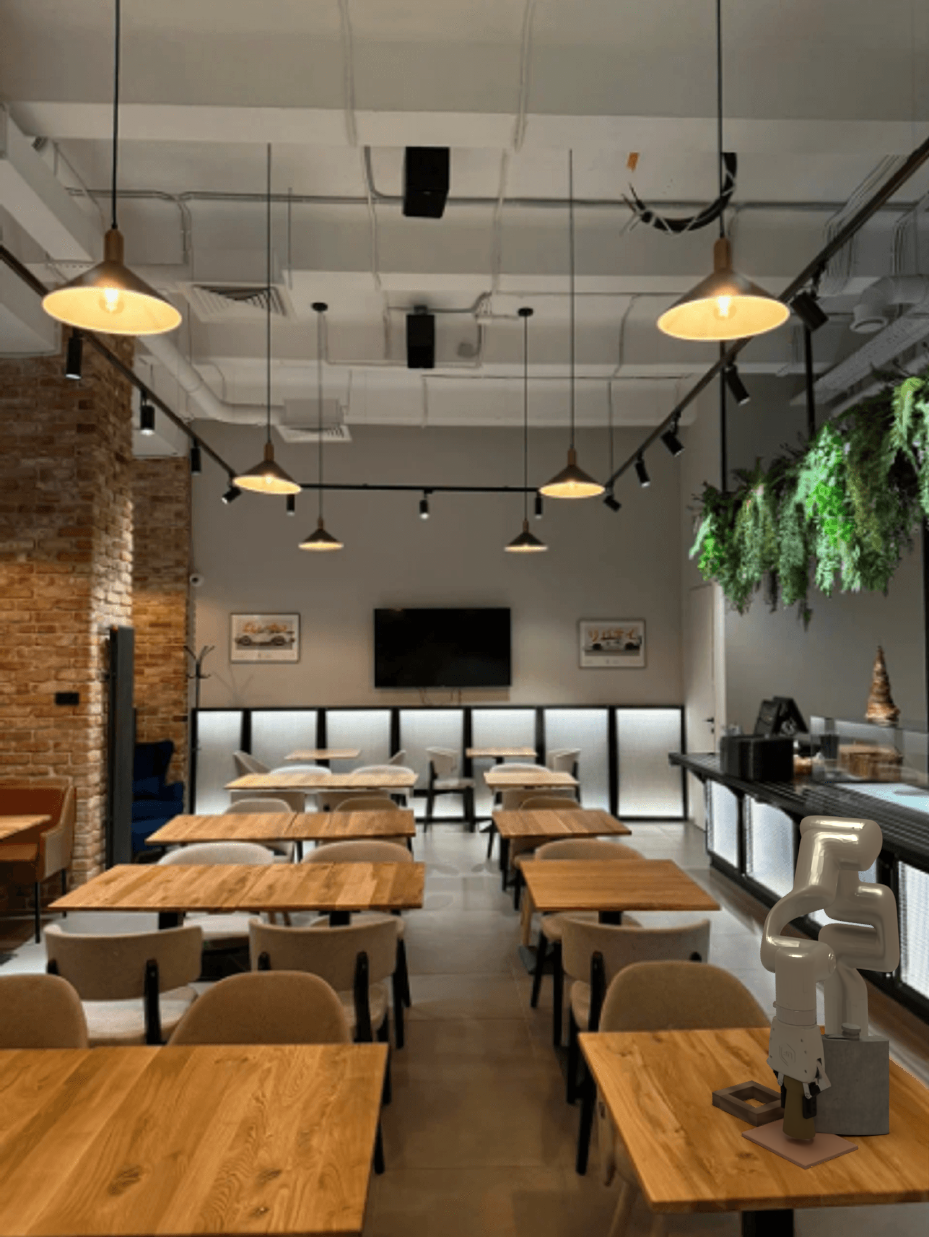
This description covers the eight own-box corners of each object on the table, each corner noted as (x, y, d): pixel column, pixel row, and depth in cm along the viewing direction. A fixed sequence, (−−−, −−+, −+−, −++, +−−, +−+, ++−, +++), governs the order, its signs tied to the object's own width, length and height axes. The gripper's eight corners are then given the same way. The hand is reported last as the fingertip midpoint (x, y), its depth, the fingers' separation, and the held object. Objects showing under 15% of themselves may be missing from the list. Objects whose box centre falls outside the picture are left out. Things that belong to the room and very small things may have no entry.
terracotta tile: (793, 1118, 190) (793, 1114, 191) (858, 1148, 178) (858, 1145, 178) (741, 1135, 183) (741, 1132, 183) (805, 1169, 170) (805, 1165, 170)
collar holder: (752, 1092, 203) (751, 1080, 203) (797, 1113, 193) (797, 1100, 193) (712, 1104, 197) (712, 1092, 197) (757, 1127, 186) (756, 1114, 187)
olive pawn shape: (812, 1126, 183) (811, 1067, 184) (818, 1140, 177) (816, 1080, 178) (780, 1123, 184) (779, 1065, 185) (784, 1137, 178) (783, 1077, 179)
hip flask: (883, 1126, 187) (884, 1022, 189) (894, 1135, 183) (894, 1029, 185) (806, 1125, 186) (807, 1020, 188) (815, 1134, 182) (816, 1027, 184)
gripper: (749, 1005, 187) (750, 1099, 186) (820, 1031, 173) (822, 1134, 172) (774, 998, 191) (776, 1091, 190) (846, 1024, 177) (849, 1124, 176)
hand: (798, 1110), depth 181 cm, fingers closed on olive pawn shape, 4 cm apart
